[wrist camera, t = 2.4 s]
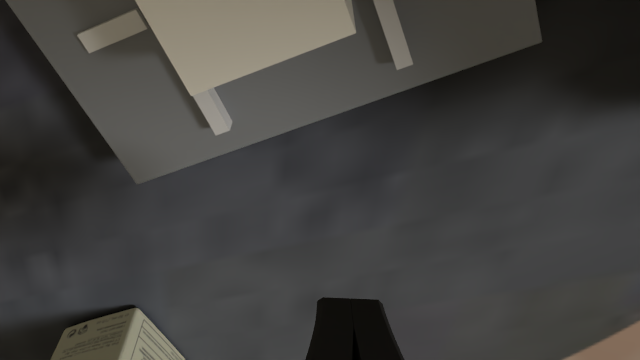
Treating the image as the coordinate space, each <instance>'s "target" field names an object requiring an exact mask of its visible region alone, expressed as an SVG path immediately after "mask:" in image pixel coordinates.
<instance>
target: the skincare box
mask: <svg viewBox="0 0 640 360" xmlns="http://www.w3.org/2000/svg"><path fill="white" fill-rule="evenodd" d="M51 360H185V358H184V357H183V356H182V355H181V354H180V353H179V352H178V351H177V350H176V348H175V347H174V346H173V345H172V344H171V343H170V342H169V341H168V339H167V338H166V337H165V336H164V335H163V334H162V333H161V332H160V331H159V330H158V329H157V327H156V326H155V325H154V324H153V323H152V322H151V321H150V320H149V319H148V318H147V317H146V316H145V315H144V314H143V313H142V312H141V310H139V309H138V308H132V309H129V310H125V311H121V312H118V313H114V314H111V315H107V316H103V317H100V318H97V319H93V320H90V321H87V322H83V323H81V324H77V325H75V326H72V327H69V328H66V329H65V330H64V332H63V334H62V336H61V338H60V341H59V343H58V345H57V347H56V349H55V351H54V353H53V355H52V358H51Z"/></svg>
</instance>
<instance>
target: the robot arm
mask: <svg viewBox="0 0 640 360" xmlns="http://www.w3.org/2000/svg"><path fill="white" fill-rule="evenodd" d="M305 360H404V358H403V356H402V354H401V352H400V349H399V347H398V345H397V342H396V340H395V338H394V335H393V333H392V330H391V328H390V325H389V322H388V320H387V317H386V314H385V311H384V308H383V304H382V303H381V302H380V301H379V300H370V299H351V300H350V299H347V298H324V297H323V298H321V299H320V300H318V301H317V313H316V321H315V326H314V331H313V335H312V339H311V343H310V347H309V350H308V353H307V356H306V359H305Z"/></svg>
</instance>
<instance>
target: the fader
mask: <svg viewBox="0 0 640 360" xmlns="http://www.w3.org/2000/svg"><path fill="white" fill-rule="evenodd" d="M135 1H136V3H137V5H138V6H139V8H140V10H141V11H142V13H143V15H144V17H145V18H146V20H147V22H148V23H149V25H150V27H151V29H152V30H153V32H154V34H155V35H156V37H157V39H158V41H159V42H160V44H161V46H162V47H163V49H164V51H165V53H166V54H167V56H168V58H169V59H170V61H171V63H172V65H173V66H174V68H175V70H176V71H177V73H178V75H179V77H180V78H181V80H182V82H183V83H184V85H185V87H186V89H187V90H188V92H189V94H190V95H191V96H193V95H196V94H198V93H201V92H203V91H206V90H209V89H211V88H214V87H217V86H219V85H222V84H224V83H227V82H230V81H232V80H235V79H237V78H240V77H243V76H245V75H248V74H251V73H253V72H256V71H258V70H261V69H264V68H266V67H269V66H271V65H274V64H277V63H279V62H282V61H285V60H287V59H290V58H292V57H295V56H298V55H300V54H303V53H305V52H308V51H311V50H313V49H316V48H319V47H321V46H324V45H326V44H329V43H332V42H334V41H337V40H339V39H342V38H345V37H347V36H350V35H353V34H355V33H356V27H355V20H354V14H353V7H352V0H135Z"/></svg>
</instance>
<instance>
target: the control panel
mask: <svg viewBox="0 0 640 360" xmlns="http://www.w3.org/2000/svg"><path fill="white" fill-rule="evenodd" d="M5 1H6V2H7V3H8V5H9V6H10V8H11V9H12V10H13V12H14V13H15V15H16V16H17V17H18V19H19V20H20V22H21V23H22V24H23V26H24V27H25V29H26V30H27V31H28V33H29V34H30V35H31V37H32V38H33V40H34V41H35V42H36V44H37V45H38V47H39V48H40V49H41V51H42V52H43V54H44V55H45V56H46V58H47V59H48V61H49V62H50V63H51V65H52V66H53V68H54V69H55V70H56V72H57V73H58V75H59V76H60V77H61V79H62V80H63V82H64V83H65V84H66V86H67V87H68V89H69V90H70V91H71V93H72V94H73V96H74V97H75V98H76V100H77V101H78V103H79V104H80V105H81V107H82V108H83V110H84V111H85V112H86V114H87V115H88V117H89V118H90V119H91V121H92V122H93V124H94V125H95V126H96V128H97V129H98V130H99V132H100V133H101V135H102V136H103V137H104V139H105V140H106V142H107V143H108V144H109V146H110V147H111V149H112V150H113V151H114V153H115V154H116V156H117V157H118V158H119V160H120V161H121V163H122V164H123V165H124V167H125V168H126V170H127V171H128V172H129V174H130V175H131V177H132V178H133V179H134V181H135V182H136V184H140V183H143V182H145V181H148V180H151V179H154V178H157V177H160V176H163V175H165V174H168V173H171V172H174V171H177V170H180V169H182V168H185V167H188V166H191V165H194V164H197V163H200V162H202V161H205V160H208V159H211V158H214V157H217V156H219V155H222V154H225V153H228V152H231V151H234V150H237V149H239V148H242V147H245V146H248V145H251V144H254V143H256V142H259V141H262V140H265V139H268V138H271V137H274V136H276V135H279V134H282V133H285V132H288V131H291V130H293V129H296V128H299V127H302V126H305V125H308V124H310V123H313V122H316V121H319V120H322V119H325V118H328V117H330V116H333V115H336V114H339V113H342V112H345V111H347V110H350V109H353V108H356V107H359V106H362V105H365V104H367V103H370V102H373V101H376V100H379V99H382V98H384V97H387V96H390V95H393V94H396V93H399V92H402V91H404V90H407V89H410V88H413V87H416V86H419V85H421V84H424V83H427V82H430V81H433V80H436V79H439V78H441V77H444V76H447V75H450V74H453V73H456V72H458V71H461V70H464V69H467V68H470V67H473V66H476V65H478V64H481V63H484V62H487V61H490V60H493V59H495V58H498V57H501V56H504V55H507V54H510V53H513V52H515V51H518V50H521V49H524V48H527V47H530V46H532V45H535V44H538V43H541V42H542V37H541V31H540V26H539V20H538V14H537V8H536V3H535V0H352V7H353V14H354V20H355V27H356V33H355V34H353V35H350V36H347V37H345V38H342V39H339V40H337V41H334V42H332V43H329V44H326V45H324V46H321V47H319V48H316V49H313V50H311V51H308V52H305V53H303V54H300V55H298V56H295V57H292V58H290V59H287V60H285V61H282V62H279V63H277V64H274V65H271V66H269V67H266V68H264V69H261V70H258V71H256V72H253V73H251V74H248V75H245V76H243V77H240V78H237V79H235V80H232V81H230V82H227V83H224V84H222V85H219V86H217V87H214V88H211V89H209V90H206V91H203V92H201V93H198V94H196V95H193V96H191V95H190V94H189V92H188V90H187V89H186V87H185V85H184V83H183V82H182V80H181V78H180V77H179V75H178V73H177V71H176V70H175V68H174V66H173V65H172V63H171V61H170V59H169V58H168V56H167V54H166V53H165V51H164V49H163V47H162V46H161V44H160V42H159V41H158V39H157V37H156V35H155V34H154V32H153V30H152V29H151V27H150V25H149V23H148V22H147V20H146V18H145V17H144V15H143V13H142V11H141V10H140V8H139V6H138V5H137V3H136V1H135V0H5Z"/></svg>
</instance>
